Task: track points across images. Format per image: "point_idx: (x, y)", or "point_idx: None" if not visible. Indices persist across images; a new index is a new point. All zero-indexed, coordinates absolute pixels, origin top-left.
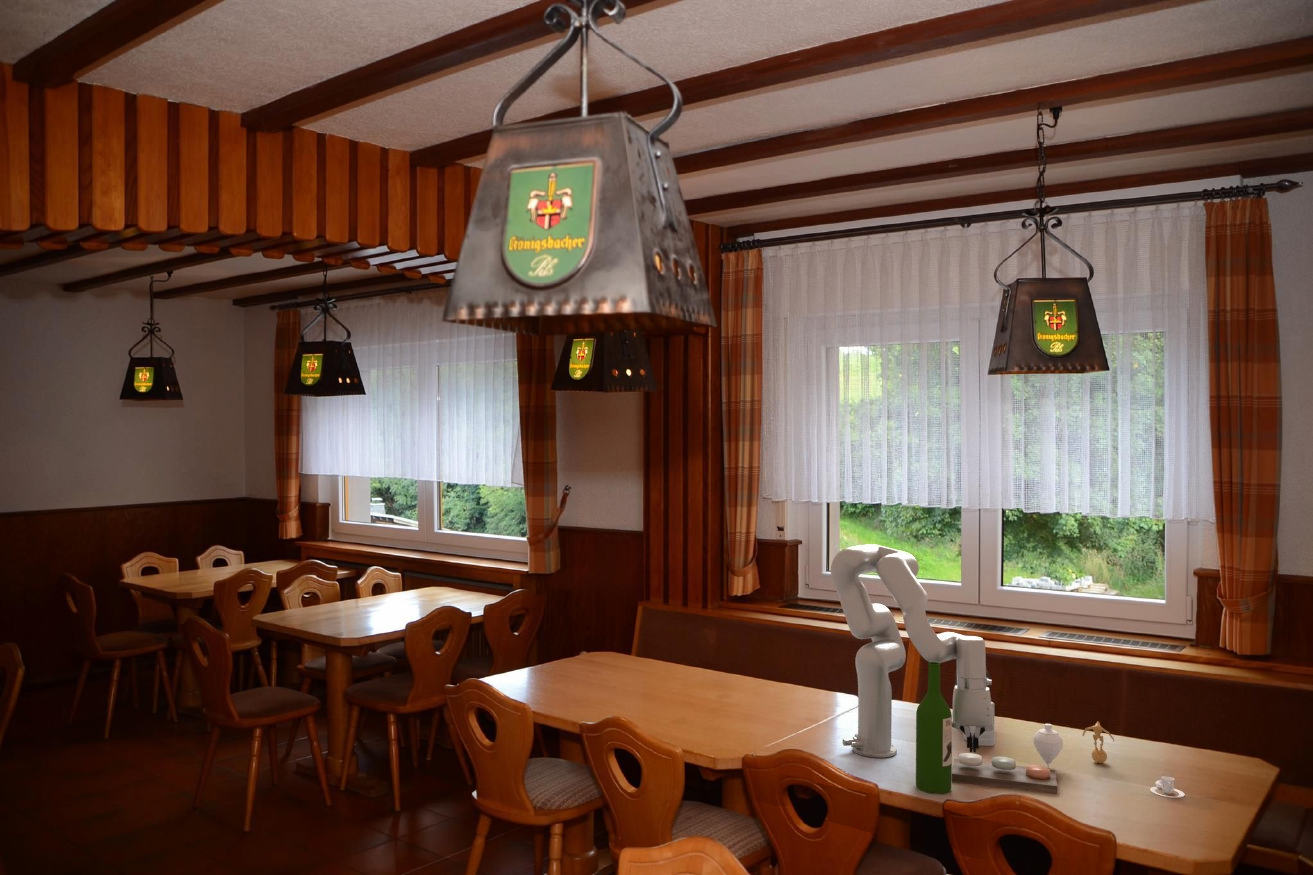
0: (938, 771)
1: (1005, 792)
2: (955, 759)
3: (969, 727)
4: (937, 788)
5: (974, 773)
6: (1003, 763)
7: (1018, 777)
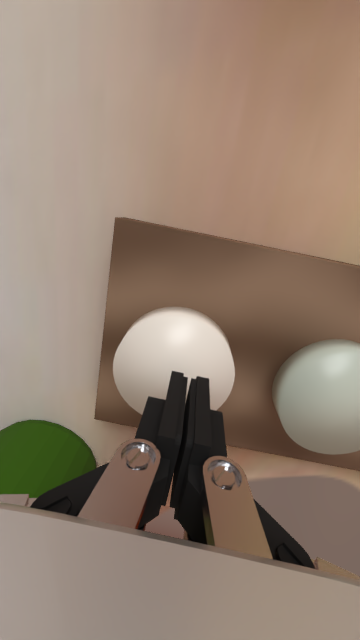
0: None
1: (265, 470)
2: (121, 229)
3: (139, 519)
4: None
5: None
6: (319, 450)
7: None
